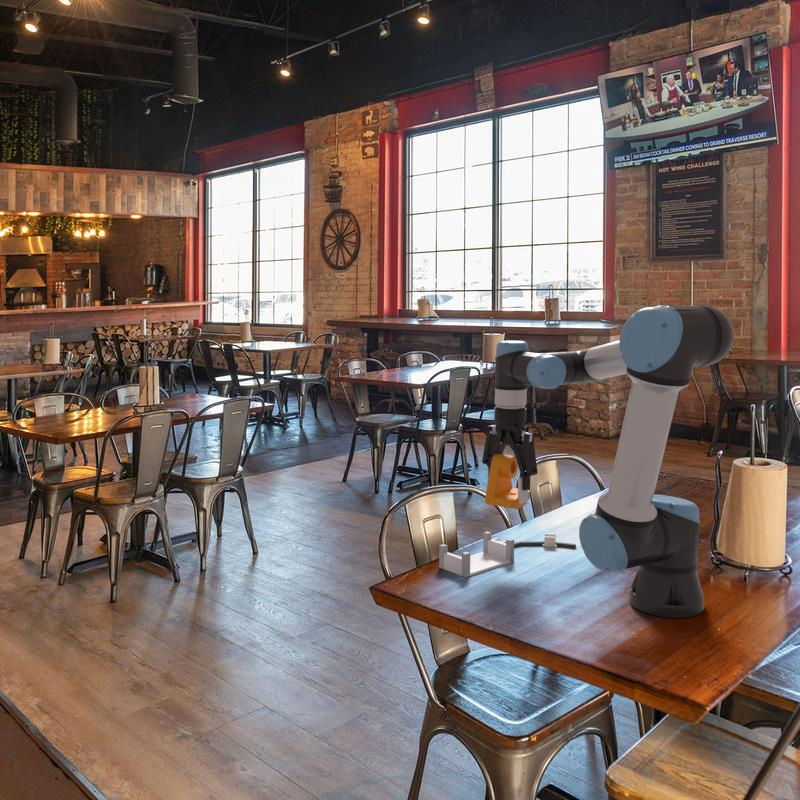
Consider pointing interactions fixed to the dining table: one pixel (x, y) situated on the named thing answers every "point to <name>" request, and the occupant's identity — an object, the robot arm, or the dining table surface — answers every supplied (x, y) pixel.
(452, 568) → the holder
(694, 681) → the dining table surface
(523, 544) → the cable route
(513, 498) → the bracket
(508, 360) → the robot arm
